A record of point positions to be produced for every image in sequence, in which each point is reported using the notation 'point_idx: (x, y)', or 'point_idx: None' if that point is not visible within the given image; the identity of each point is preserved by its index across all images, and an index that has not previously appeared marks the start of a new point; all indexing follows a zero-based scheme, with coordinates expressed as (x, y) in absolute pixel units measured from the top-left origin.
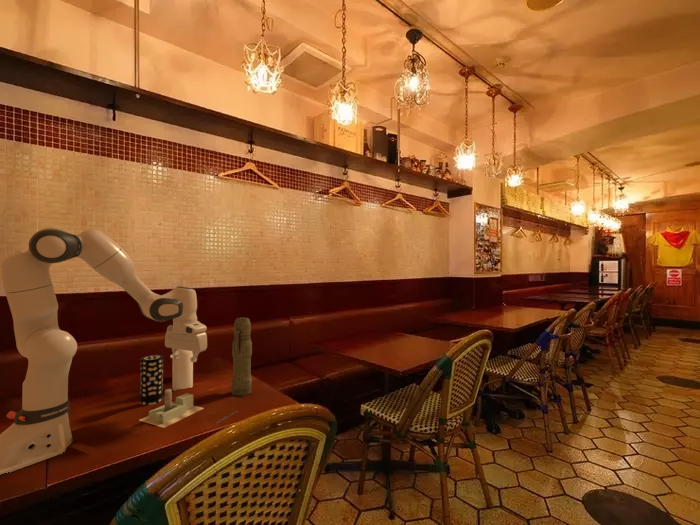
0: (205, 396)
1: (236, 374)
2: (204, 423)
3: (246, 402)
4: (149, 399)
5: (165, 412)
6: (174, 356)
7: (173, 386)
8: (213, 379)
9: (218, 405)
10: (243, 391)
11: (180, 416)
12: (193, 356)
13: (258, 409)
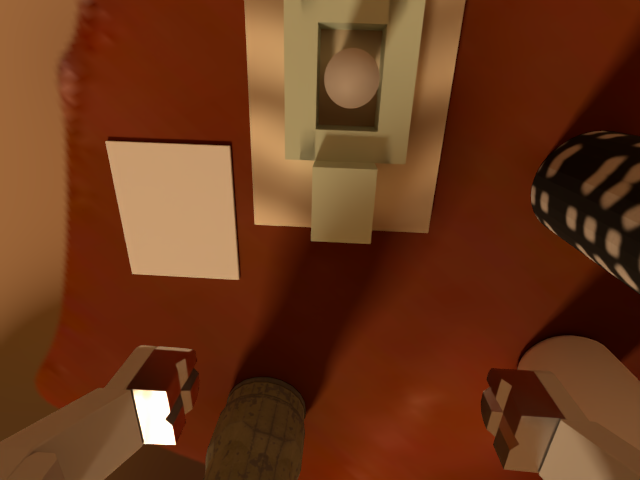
0: (386, 339)
1: (239, 471)
2: (155, 126)
3: (175, 346)
4: (592, 154)
5: (310, 22)
6: (560, 397)
7: (599, 350)
8: (490, 473)
9: (255, 289)
10: (229, 402)
11: (281, 104)
12: (73, 408)
13: (79, 313)
